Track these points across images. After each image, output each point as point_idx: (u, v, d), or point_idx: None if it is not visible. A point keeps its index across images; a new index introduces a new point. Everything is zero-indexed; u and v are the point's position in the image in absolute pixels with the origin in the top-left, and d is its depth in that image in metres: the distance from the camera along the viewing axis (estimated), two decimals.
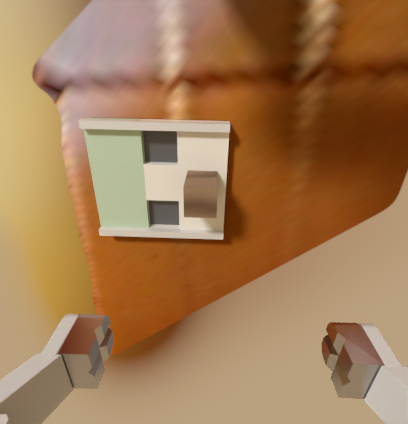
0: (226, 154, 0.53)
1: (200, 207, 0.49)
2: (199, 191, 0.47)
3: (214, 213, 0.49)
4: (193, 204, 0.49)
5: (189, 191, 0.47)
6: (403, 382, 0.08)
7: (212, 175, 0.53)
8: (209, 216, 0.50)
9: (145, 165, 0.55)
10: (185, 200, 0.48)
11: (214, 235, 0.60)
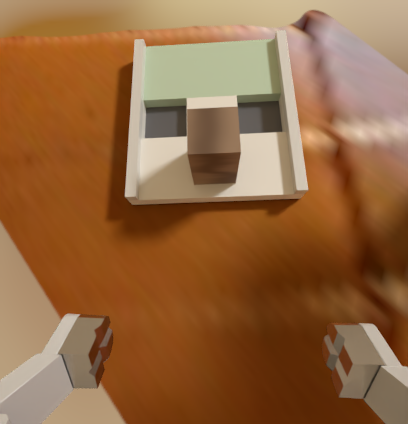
0: (261, 193, 0.38)
1: (206, 131, 0.31)
2: (232, 127, 0.31)
3: (196, 150, 0.30)
4: (210, 120, 0.32)
5: (231, 114, 0.32)
6: (403, 382, 0.08)
7: None
8: (189, 144, 0.31)
9: (235, 97, 0.43)
10: (216, 109, 0.32)
11: (132, 183, 0.38)
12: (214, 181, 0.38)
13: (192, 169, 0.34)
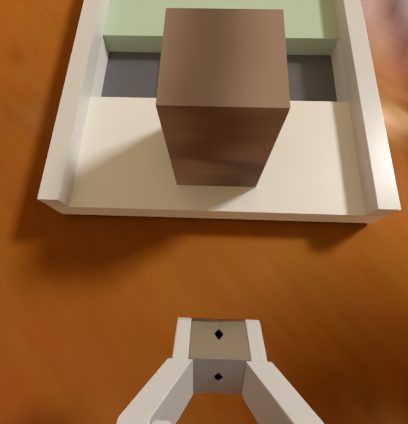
0: (303, 209, 0.20)
1: (206, 55, 0.13)
2: (270, 52, 0.13)
3: (178, 98, 0.12)
4: (217, 33, 0.13)
5: (268, 23, 0.13)
6: (260, 377, 0.08)
7: None
8: (164, 82, 0.13)
9: None
10: (232, 13, 0.14)
11: (57, 173, 0.19)
12: (216, 180, 0.20)
13: (171, 150, 0.16)
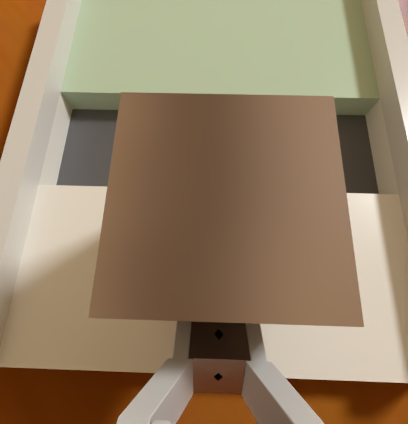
0: (343, 373, 0.13)
1: (193, 196, 0.07)
2: (314, 189, 0.07)
3: (136, 299, 0.06)
4: (215, 147, 0.07)
5: (308, 126, 0.07)
6: (260, 377, 0.08)
7: None
8: (110, 259, 0.06)
9: None
10: (241, 103, 0.08)
11: None
12: None
13: None
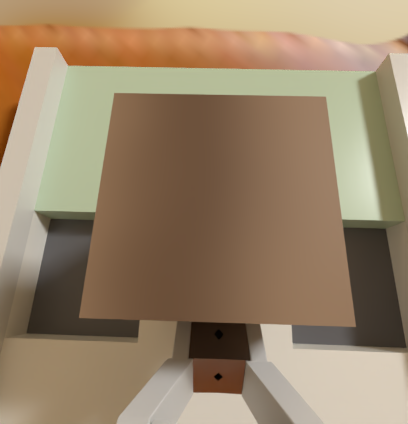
0: None
1: (185, 196, 0.07)
2: (307, 188, 0.07)
3: (126, 299, 0.06)
4: (207, 147, 0.07)
5: (301, 126, 0.07)
6: (260, 377, 0.08)
7: None
8: (101, 259, 0.06)
9: None
10: (234, 104, 0.08)
11: None
12: None
13: None
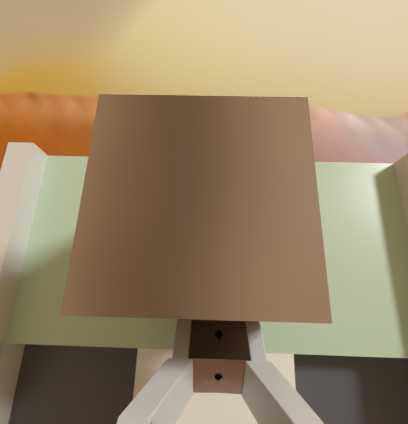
0: None
1: (167, 196, 0.07)
2: (287, 188, 0.07)
3: (108, 297, 0.06)
4: (190, 147, 0.07)
5: (282, 126, 0.07)
6: (260, 377, 0.08)
7: None
8: (83, 257, 0.06)
9: (290, 363, 0.14)
10: (217, 105, 0.08)
11: None
12: None
13: None
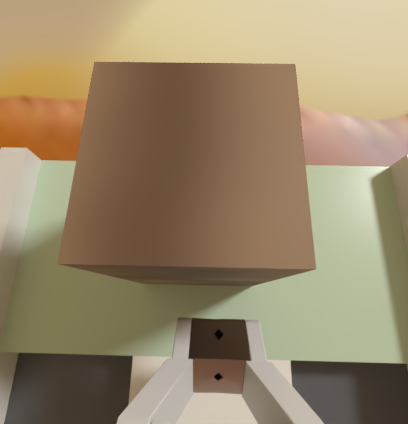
0: None
1: (160, 155, 0.07)
2: (274, 147, 0.07)
3: (102, 247, 0.06)
4: (181, 110, 0.08)
5: (270, 90, 0.08)
6: (260, 377, 0.08)
7: None
8: (79, 211, 0.07)
9: (286, 369, 0.14)
10: (208, 71, 0.08)
11: None
12: None
13: (118, 276, 0.10)
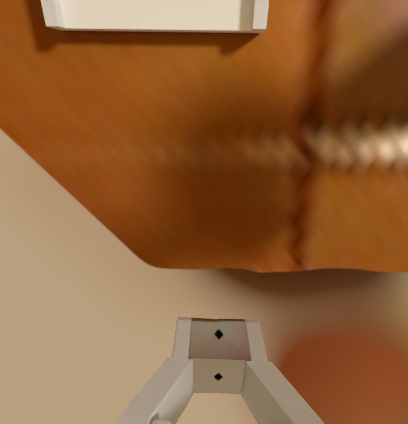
0: (212, 27, 0.32)
1: None
2: None
3: None
4: None
5: None
6: (260, 377, 0.08)
7: None
8: None
9: None
10: None
11: (50, 4, 0.30)
12: None
13: None
